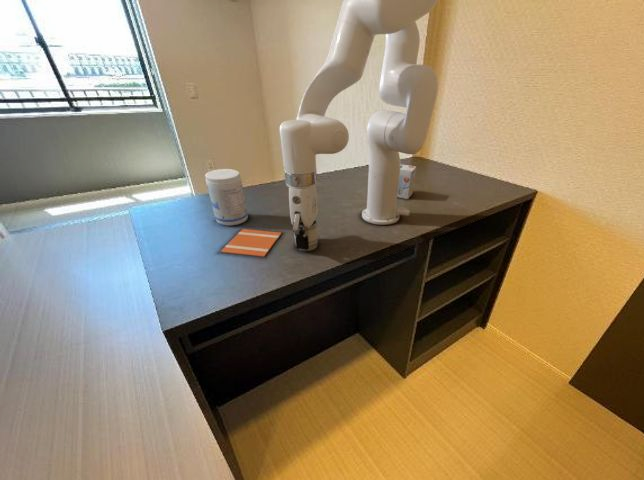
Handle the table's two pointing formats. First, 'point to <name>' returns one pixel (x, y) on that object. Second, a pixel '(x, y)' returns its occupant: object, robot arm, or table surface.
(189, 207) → the table surface
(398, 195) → the light bulb box
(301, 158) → the robot arm
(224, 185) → the supplement tub
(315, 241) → the camera lens
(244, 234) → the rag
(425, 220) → the table surface
